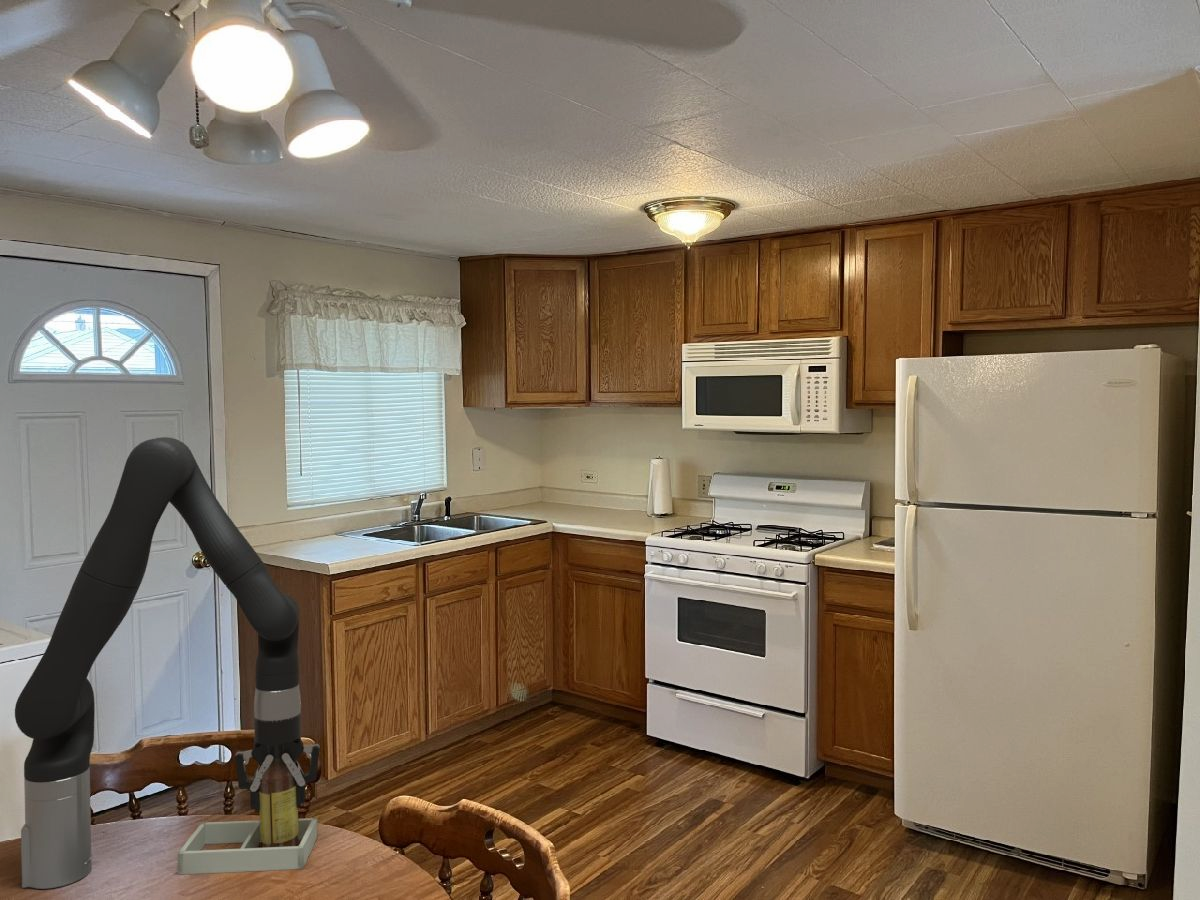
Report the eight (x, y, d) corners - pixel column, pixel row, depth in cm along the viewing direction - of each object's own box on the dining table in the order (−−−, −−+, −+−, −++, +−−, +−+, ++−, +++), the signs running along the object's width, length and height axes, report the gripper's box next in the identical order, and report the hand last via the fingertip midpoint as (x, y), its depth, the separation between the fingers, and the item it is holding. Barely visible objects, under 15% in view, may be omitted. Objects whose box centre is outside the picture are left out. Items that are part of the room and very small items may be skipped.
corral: (177, 874, 149) (177, 853, 149) (201, 842, 161) (201, 822, 160) (302, 868, 151) (302, 848, 151) (317, 837, 162) (317, 817, 162)
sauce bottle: (304, 838, 159) (304, 726, 158) (289, 855, 153) (288, 738, 152) (268, 836, 160) (268, 725, 159) (251, 853, 153) (251, 737, 153)
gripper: (230, 722, 150) (231, 822, 150) (321, 714, 154) (322, 811, 154) (234, 709, 157) (235, 804, 157) (321, 701, 161) (321, 794, 162)
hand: (278, 807), depth 156 cm, fingers closed on sauce bottle, 6 cm apart
